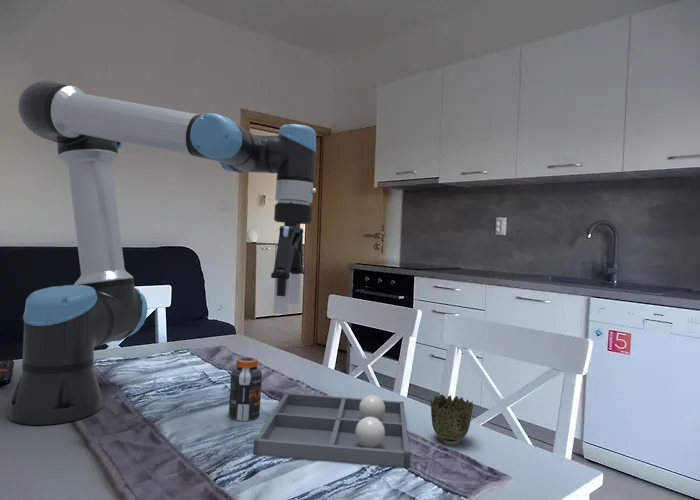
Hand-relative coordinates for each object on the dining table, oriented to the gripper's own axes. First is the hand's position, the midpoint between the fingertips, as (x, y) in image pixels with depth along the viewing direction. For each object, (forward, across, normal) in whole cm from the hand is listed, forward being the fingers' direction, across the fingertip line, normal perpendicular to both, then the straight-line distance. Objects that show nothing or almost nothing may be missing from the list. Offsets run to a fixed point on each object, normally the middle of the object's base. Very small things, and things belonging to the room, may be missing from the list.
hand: (287, 308), depth 98 cm
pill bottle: (+21, -4, +6) cm, 23 cm away
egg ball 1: (+20, -5, -18) cm, 28 cm away
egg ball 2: (+20, -16, -18) cm, 32 cm away
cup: (+21, -11, -32) cm, 40 cm away
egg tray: (+21, -10, -12) cm, 26 cm away
